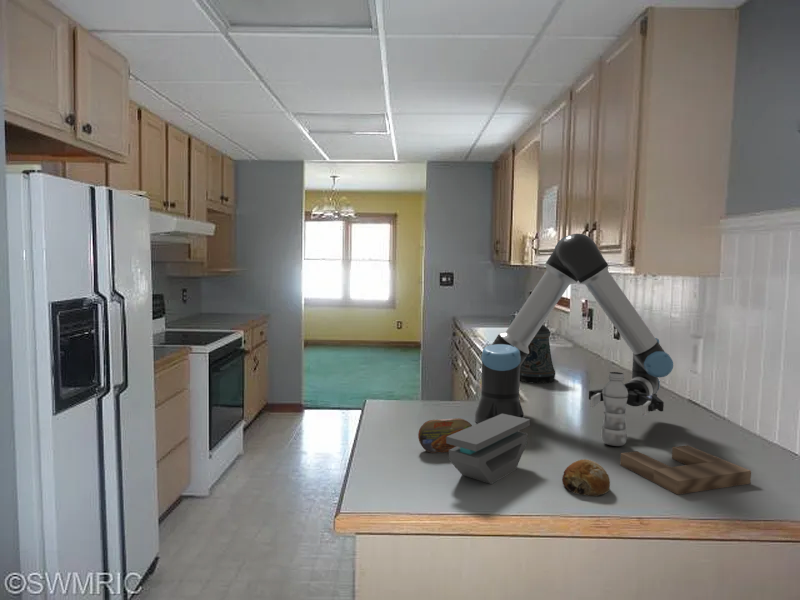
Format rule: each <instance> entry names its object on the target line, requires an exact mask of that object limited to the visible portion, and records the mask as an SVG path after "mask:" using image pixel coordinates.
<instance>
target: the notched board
mask: <svg viewBox="0 0 800 600" xmlns="http://www.w3.org/2000/svg"><path fill="white" fill-rule="evenodd" d="M671 448H672V451H671V459H672V460H675V461H677V462H679V463H681V464H684V465H677V466H670V465H668V464H666V463H663V462H661V461H659V460H657V459H655V458H653V457H651V456H649V455H646V454H644V453H642V452H640V451H628V452H621V453H620V464H619V465H620V466H622V467H623V468H625V469H627V470H629V471H631V472H632V473H633V472H634V474H637V475H639V476H641V477H643V479H644V478H645V479H647V480H648V481H650V482H652V483H654V484H656V485H658V486H660V487H661V488H664V489H665V490H668V491H669V492H671V493H674V494H675V495H684V494H691V493H697V492H703V491H704V492H705V491H709V490H710V491H712V490H716V489H723V488H729V487H737V486H742V485H743V486H744V485H750V484H751V481H752V480H751V479H752V470H750V469H748V468H745V467H743V466H740V465H737V464H735V463H732V462H730V461H727V460H726V459H723V458H720V457H718V456H715V455H713V454H711V453H708V452H705V451H703V450H701V449H698V448H696V447H693V446H691V445H687V444H686V445H679V446H672V447H671Z"/></svg>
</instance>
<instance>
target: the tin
mask: <svg viewBox="0 0 800 600" xmlns="http://www.w3.org/2000/svg"><path fill="white" fill-rule="evenodd" d="M471 426H473V425H472V424H471V422H469V421H467V420H465V419H463V418H444V419H442V418H441V419H430V420H427V421H425V422H424V423H423V424H422V425H421V426H420V428H419V431H418V432H417V433H418V434H417V435H418V441H419V444H420V446H421V447H422V448H423V450H425V451H426V452H428V453H431V454H437V453H436V452H441V453H449V450H450V449H452V448H454V447H456V446H454V445H450V444H447V443H446V437H447V436H449V435H452V434H454V433H456V432H459V431H461V430H464V429H466V428H468V427H471Z"/></svg>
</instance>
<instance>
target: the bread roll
mask: <svg viewBox="0 0 800 600" xmlns="http://www.w3.org/2000/svg"><path fill="white" fill-rule="evenodd" d="M561 481H562V485H563V487H564V488H565V489H566V490H568V491H569V492H572V493H574V494H577V495H582V496H587V497H588V496H590V497H591V496H594V497H599V496H602V495H605V494H606V493H608V492H609V491H610V488H611V487H610V486H611V480H610V476H609V474H608V473H607V471H606V469H605V468H604V467H603V466H602V465H601V464H599V463H597V461H594V460H591V459H587V458H585V459H578V460H575V461H574V462H572V463H571V464H569V465H568V466H567V467H566V468H565V469H564V471H563V475H562V477H561Z"/></svg>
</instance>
